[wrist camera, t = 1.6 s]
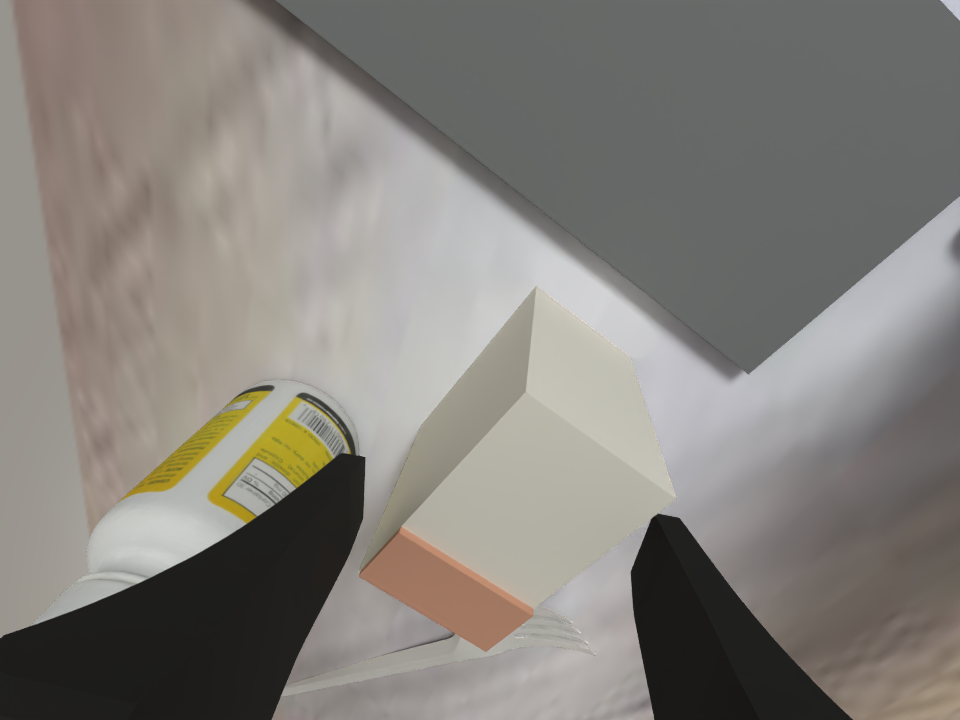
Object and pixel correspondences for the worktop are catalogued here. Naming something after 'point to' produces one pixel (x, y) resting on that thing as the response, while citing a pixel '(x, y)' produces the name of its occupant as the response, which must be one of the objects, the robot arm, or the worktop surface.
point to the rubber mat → (692, 133)
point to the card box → (520, 477)
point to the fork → (449, 653)
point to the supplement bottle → (212, 486)
